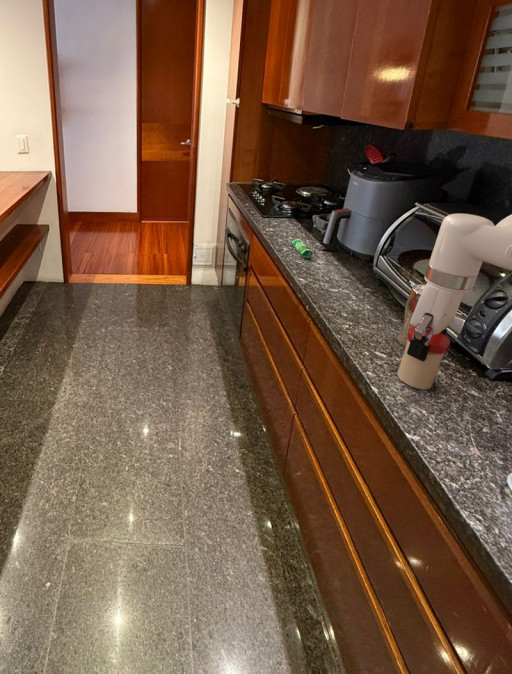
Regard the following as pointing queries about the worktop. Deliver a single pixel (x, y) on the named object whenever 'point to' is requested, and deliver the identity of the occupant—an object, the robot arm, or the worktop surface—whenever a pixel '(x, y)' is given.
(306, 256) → the candy
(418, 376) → the jar
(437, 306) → the robot arm
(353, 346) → the worktop surface
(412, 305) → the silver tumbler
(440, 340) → the red lid
